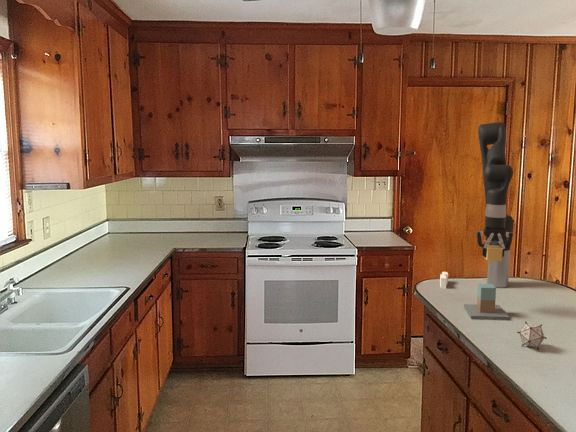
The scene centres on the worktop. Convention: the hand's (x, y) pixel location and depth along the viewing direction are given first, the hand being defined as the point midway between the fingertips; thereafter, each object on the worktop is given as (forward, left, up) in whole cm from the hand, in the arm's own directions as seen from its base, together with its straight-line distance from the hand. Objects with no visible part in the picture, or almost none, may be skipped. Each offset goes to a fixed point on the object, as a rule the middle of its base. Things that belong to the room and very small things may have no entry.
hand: (492, 257), depth 210 cm
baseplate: (+6, -3, -21) cm, 22 cm away
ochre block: (0, 0, -1) cm, 1 cm away
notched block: (-32, -12, -22) cm, 41 cm away
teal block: (+6, -3, -15) cm, 17 cm away
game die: (+38, +4, -21) cm, 44 cm away
